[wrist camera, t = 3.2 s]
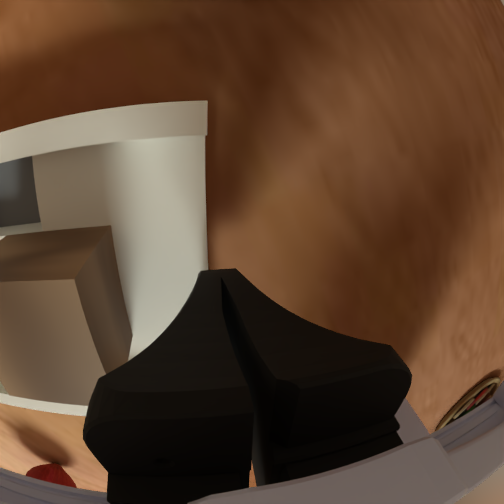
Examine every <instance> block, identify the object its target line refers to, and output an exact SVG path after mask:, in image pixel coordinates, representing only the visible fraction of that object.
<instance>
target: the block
mask: <svg viewBox="0 0 504 504" xmlns="http://www.w3.org/2000/svg"><path fill="white" fill-rule="evenodd" d="M132 337H133V334H132V330H131V326H130V322H129V318H128V314H127V310H126V305H125V301H124V296H123V292H122V287H121V282H120V277H119V272H118V266H117V261H116V255H115V249H114V243H113V236H112V229H111V225H108V226H96V227H84V228H73V229H62V230H52V231H42V232H33V233H24V234H15V235H6V236H5V237H4V238H3V239H1V240H0V382H1V383H2V385H3V386H4V388H5V390H6V391H7V393H8V394H9V395H10V396H15V397H20V398H26V399H32V400H39V401H46V402H53V403H62V404H71V405H82V406H88V404H89V401H90V398H91V395H92V393H93V391H94V388H95V386H96V383H97V381H98V379H99V378H100V377H102V376H104V375H106V374H107V373H109V372H111V371H113V370H114V369H116V368H118V367H119V366H121V365H123V364H125V363H126V362H128V358H129V353H130V348H131V342H132Z"/></svg>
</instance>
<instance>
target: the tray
mask: <svg viewBox="0 0 504 504" xmlns="http://www.w3.org/2000/svg"><path fill="white" fill-rule="evenodd" d="M207 109H208V101H180V102H163V103H151V104H140V105H131V106H123V107H115V108H108V109H101V110H95V111H89V112H83V113H77V114H72V115H67V116H62V117H58V118H53V119H49V120H44V121H40V122H36V123H32V124H29V125H25V126H21V127H18V128H14V129H11V130H7V131H4V132H1V133H0V240H1V239H3V238H4V237H5V236H6V235H15V234H24V233H33V232H42V231H52V230H62V229H73V228H84V227H96V226H108V225H111V229H112V236H113V243H114V249H115V255H116V261H117V266H118V272H119V277H120V282H121V287H122V292H123V296H124V301H125V305H126V310H127V314H128V318H129V322H130V326H131V330H132V334H133V337H132V342H131V348H130V353H129V358H128V361H129V360H131V359H132V358H133V357H135V356H136V355H138V354H139V353H140V352H142V351H143V350H144V349H145V348H147V347H148V346H149V345H150V344H151V343H152V342H154V341H155V340H156V339H157V338H158V337H159V336H160V335H161V334H162V332H163V331H164V330H165V329H166V328H167V327H168V326H169V325H170V323H171V322H172V321H173V320H174V318H175V317H176V316H177V314H178V313H179V311H180V310H181V308H182V307H183V305H184V304H185V302H186V301H187V299H188V297H189V295H190V293H191V291H192V290H193V288H194V285H195V283H196V281H197V277H198V273H199V272H200V271H202V270H208V251H207V225H206V185H205V135H207ZM0 403H3V404H8V405H13V406H17V407H23V408H28V409H34V410H40V411H46V412H53V413H60V414H69V415H78V416H86V413H87V409H88V406H82V405H71V404H62V403H53V402H46V401H39V400H32V399H26V398H20V397H15V396H10V395H9V394H8V393H7V391H6V390H5V388H4V386H3V385H2V383H1V382H0Z"/></svg>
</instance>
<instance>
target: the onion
mask: <svg viewBox="0 0 504 504" xmlns="http://www.w3.org/2000/svg"><path fill="white" fill-rule="evenodd" d="M26 476H28V477H31V478H35V479H39V480H42V481H46V482H50V483H55V484H59V485H64V486H68V487H74V488H77V487H76V484H75V483H74V481H73V480H72V479H71V477H70V476H69V475H68V474H67V473H66V472H65V471H64V470H63V468H62V467H61V466H60V465H59V464H56V463H51V464H45V465H39V466H36V467H33V468H32V469H30V470H29V471H28V472H27V474H26Z"/></svg>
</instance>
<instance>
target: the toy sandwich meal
mask: <svg viewBox="0 0 504 504" xmlns="http://www.w3.org/2000/svg"><path fill="white" fill-rule="evenodd" d="M499 384H500V378H498V377H495V378H489V379H487V380H485V381H483V382H482V383H480V384H479V385H478V386H476V387H475V388H474V389H473V390H471V391H470V392H469V393H468V394H467V395H466V396H465V397H464V398H462V399H461V400H460V401H459V402H458V403H457V404H456V405H455V406H454V407H453V408H452V409H451V410H450V411H449V413H448V414H447V415H446V416H445V417H444V418H443V419H442V421H441V422H440V423H439V425H438V427H437V428H436V431H437V430H439V429H441V428H443V427H445V426H447V425H448V424H450V423H452V422H454V421H455V420H457V419H459V418H461V417H462V416H464V415H466V414H467V413H469V412H470V411H472V410H474V409H475V408H477V407H478V406H480V405H481V404H483V403H484V402H486V401H487V400H489V399H490V398H492V397H493V394H494V393H495V391H496V390H497V388H498V387H499Z"/></svg>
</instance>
